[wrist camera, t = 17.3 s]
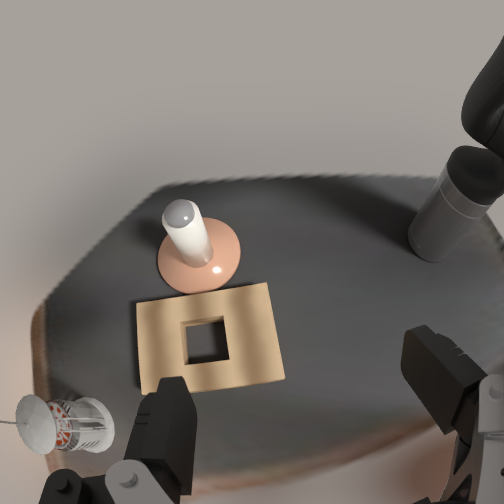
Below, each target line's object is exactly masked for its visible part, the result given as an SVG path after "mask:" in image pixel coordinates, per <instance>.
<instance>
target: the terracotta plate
mask: <svg viewBox="0 0 504 504" xmlns="http://www.w3.org/2000/svg"><path fill="white" fill-rule="evenodd" d="M202 220H203V223H204V225H205V228H206V231H207V234H208V236H209V239H210V242H211V244H212V247H213V250H214V255H213V258H212V260H211V261H210V262H209V263H208V264H207V265H206V266H204V267H201V268H192V267H190V266H188V265H187V264H186V263H185V262H184V260H183V258H182V257H181V255H180V253H179V252H178V250H177V248H176V246H175V245H174V243H173V241H172V240H171V238H170V236H169V234H168V235H167V236H166V237H165V239H164V240H163V242H162V244H161V246H160V249H159V254H158V266H159V270H160V273H161V275H162V276H163V278H164V279H165V281H166V282H167V283H168V284H169V285H170V286H171V287H172V288H174V289H175V290H177V291H179V292H181V293H184V294H189V295H195V294H201V293H207V292H213V291H215V290H217V289H219V288H221V287H222V286H224V285H225V284H226V283H227V282H228V281H229V280H230V279H231V278H232V277H233V275H234V274H235V272H236V270H237V268H238V265H239V262H240V256H241V251H240V245H239V241H238V238H237V236H236V234H235V233H234V231H233V230H232V229H231V228H230V227H229V226H228V225H226V224H225V223H223V222H221V221H219V220H216V219H212V218H202Z"/></svg>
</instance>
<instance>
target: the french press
mask: <svg viewBox="0 0 504 504" xmlns="http://www.w3.org/2000/svg"><path fill="white" fill-rule="evenodd" d="M58 401H59V400H56V399H54V400H52V401H47V402H44V401H43V400H42V399H41V398H39V397H38V396H35V395H27V396H24V397H23V398H22V399H21V400H20V402H19V403H18V406H17V410H16V422H7V421H0V423H8V424H16V425H17V428H18V431H19V434H20V436H21V438H22V440H23V442H24V443H25V445H26V446H27V447H28V448H29V449H30V450H32V451H33V452H35V453H38V454H40V455H43V454H49V452H50V451H51V450H52V449H53V448H54V449H58V450H63V451H73V450H75V449H76V450H80V449H85V450H87V451H90V452H94V453H98V452H102V451H105V450H106V449H107V448H108V447H109V446H110V445H111V444H112V441H113V438H114V435H115V433H114V422H113V420H112V417H111V415H110V412H109V411H108V410H107V409H106V408H105V406H104V405H103V404H102V403H101V402H99V401H97V400H96V399H94V398H88V397H83V398H80V399H77V400H76V401H75V402H74V401H71V402H70V401H65V400H61V402H60V403H59V404H58V403H57V402H58ZM63 402H65V403H64V404H63V406H61V404H62V403H63ZM69 402H70V403H69ZM73 402H74V403H73ZM66 404H68V406H67V407H66V409H64V407H65V406H66ZM69 407H70V410H69V412H68V413H67V410H68V408H69ZM72 438H73V439H74V440H75V441H76V442H77V444H76V443H75V442H74V441H73V440H72ZM71 442H72V443H73V444H74V445H76V447H75V446H73V445H72V444H71ZM69 444H70V445H71V446H72V447H73V449H72V448H71V447H69V446H68V445H69ZM80 446H81V447H80ZM66 447H67V448H69V449H71V450H68V449H66ZM78 448H79V449H78Z"/></svg>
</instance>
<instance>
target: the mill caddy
mask: <svg viewBox="0 0 504 504" xmlns="http://www.w3.org/2000/svg"><path fill="white" fill-rule="evenodd" d="M221 321H224V323H225V330H226V337H227V344H228V351H229V358H230V360H224V361H216V362H209V363H200V364H192V365H189V356H188V347H187V337H186V327H187V326H194V325H201V324H208V323H215V322H221ZM137 335H138V353H139V367H140V379H141V389H142V395H147V394H148V393H149V392H156V391H157V388H158V384H159V381H160V379H161V378H163V377H175V376H182V377H183V378H184V380H185V382H186V385H187V387H188V390H189V392H190V393H193V392H204V391H213V390H221V389H229V388H237V387H244V386H250V385H256V384H263V383H268V382H274V381H279V380H284V379H285V375H284V370H283V364H282V359H281V354H280V349H279V344H278V338H277V333H276V328H275V323H274V318H273V313H272V307H271V302H270V297H269V292H268V287H267V282H266V283H260V284H255V285H249V286H243V287H237V288H231V289H225V290H219V291H213V292H207V293H201V294H195V295H188V296H182V297H175V298H169V299H162V300H155V301H149V302H142V303H137Z"/></svg>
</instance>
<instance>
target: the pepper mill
mask: <svg viewBox="0 0 504 504" xmlns="http://www.w3.org/2000/svg"><path fill="white" fill-rule="evenodd" d="M162 223H163V226H164V227H165V229H166V231H167V233H168V234H169V236H170V238H171V240H172V241H173V243H174V245H175V246H176V248H177V250H178V252H179V253H180V255H181V257H182V258H183V260H184V262H185V263H186V264H187V265H188V266H190V267H192V268H201V267H204V266H206V265H207V264H208V263H209V262H210V261H211V260H212V258H213V255H214V250H213V247H212V244H211V242H210V239H209V236H208V234H207V231H206V228H205V225H204V223H203V220H202V217H201V214H200V212H199V209H198V207H197V205H196V204H195V203H193V202H191V201H188V200H184V199H179V200H175V201H173V202H171V203H170V204H169V205H168V206H167V207H166V209H165V211H164V213H163V216H162Z"/></svg>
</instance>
